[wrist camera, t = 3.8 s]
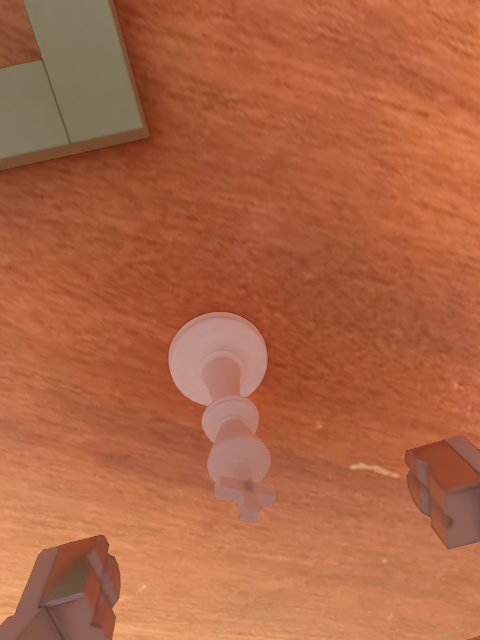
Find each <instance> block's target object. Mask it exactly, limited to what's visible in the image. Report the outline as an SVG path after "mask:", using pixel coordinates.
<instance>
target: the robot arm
mask: <svg viewBox="0 0 480 640" xmlns="http://www.w3.org/2000/svg"><path fill="white" fill-rule="evenodd" d="M405 463H406V464H407V466H408V467H409V468H410V471H409V473H408V474H407V483H408V488H409V491H410V494H411V497H412V499H413V500H414V502H415V504H416V506H417V507H418V509H419V510H420V512H421V513H423V514H425V515H427V516H429V517H431V527H432V528H433V530H434V531H435V533H436V534H437V535H438V537H439V538H440V539H441V541H442V542H443V544H444V545H445V546H446V548H447V549H452V548H456V547H460V546H464V545H468V544H472V543H476V542H480V450H478V449H477V448H476V447H475V446H474V445H473V444H472V443H471V442H470V441H468V440H467V439H466V438H465V437H464V436H461V435H458V436H455V437H451V438H448V439H444V440H442V441H438V442H434V443H431V444H427V445H424V446H420V447H417V448H413V449H410V450H406V453H405ZM108 548H109V544H108V542H107V540H106V538H105V536H104V535H98V536H94V537H90V538H86V539H82V540H78V541H74V542H70V543H66V544H63V545H60V546H56V547H52V548H48V549H44V550H43V551H42V552H41V553H40V554H39V555H38V557H37V560H36V562H35V565H34V567H33V570H32V572H31V575H30V577H29V579H28V582H27V584H26V587H25V589H24V592H23V594H22V597H21V599H20V602H19V604H18V607H17V609H16V612H15V614H14V615H13V616H10V617H7V619H6V620H5V621H4V622H3V623H2V624H1V625H0V640H112V637H113V631H114V625H115V619H116V616H115V614H114V612H113V610H112V608H113V606H114V605H115V603H116V602H117V600H118V599H119V594H120V587H121V584H120V571H119V567H118V563H117V561H116V559H115V557H114V556H112V555H110V554H108ZM468 640H480V636H477V637H474V638H471V639H468Z"/></svg>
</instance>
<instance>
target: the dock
mask: <svg viewBox="0 0 480 640" xmlns="http://www.w3.org/2000/svg"><path fill="white" fill-rule="evenodd" d="M23 3H24V6H25V9H26V12H27V15H28V18H29V21H30V24H31V27H32V30H33V33H34V36H35V38H36V41H37V44H38V47H39V50H40V53H41V56H42V59H43V60H37V61H32V62H28V63H23V64H18V65H13V66H8V67H4V68H0V171H1V170H5V169H10V168H14V167H19V166H23V165H28V164H32V163H37V162H41V161H46V160H50V159H55V158H59V157H64V156H68V155H73V154H77V153H82V152H86V151H89V150H95V149H100V148H104V147H109V146H113V145H118V144H122V143H127V142H131V141H136V140H140V139H144V138H149V137H150V134H149V130H148V127H147V123H146V119H145V116H144V112H143V108H142V104H141V101H140V97H139V93H138V90H137V86H136V82H135V78H134V75H133V71H132V67H131V64H130V60H129V56H128V52H127V49H126V45H125V41H124V38H123V34H122V30H121V26H120V23H119V19H118V15H117V12H116V8H115V4H114V1H113V0H23Z"/></svg>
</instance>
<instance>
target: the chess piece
mask: <svg viewBox="0 0 480 640" xmlns="http://www.w3.org/2000/svg"><path fill="white" fill-rule="evenodd" d="M168 363H169V369H170V372H171V376H172V379H173V381H174V383H175V385H176V386H177V388H178V389H179V390H180V391H181V393H183V394H184V395H185V396H186V397H187V398H189V399H190V400H192V401H194V402H196V403H199V404H202V405H206V406H208V407H207V408H206V409H205V411H204V413H203V416H202V428H203V431H204V433H205V434H206V436H207V437H208V438H209V440H210V441H212V442H213V443H214V444H213V446H212V448H211V450H210V453H209V456H208V461H207V469H208V473H209V475H210V477H211V479H212V480H213V481H214V482H215V483H216V484H215V487H214V490H215V499H219V500H225V501H231V502H237V508H238V514H239V520H240V521H247V522H253V523H255V521H256V519H257V517H258V514H259V512H260V507H259V506H261V507H267V508H272V506H273V504H274V501H275V499H276V497H277V496H276V492H275V489H274V486H273V485H269V484H263V483H259V482H260V481H261V480H262V479H263V478H264V477H265V476H266V474H267V473H268V471H269V468H270V463H271V457H270V453H269V450H268V448H267V447H266V445H265V444H264V443H263V441H262V440H261V439H260V438H259V437H258V436H256V435H255V433H256V431H257V428H258V423H259V413H258V410H257V408H256V406H255V405H254V404H253V403H252V402H251V401H250V400H249V399H247V398H246V397H248V396H249V395H250V394H251V393H253V392H254V391H255V389H256V388H257V387H258V386H259V384H260V383H261V381H262V379H263V377H264V375H265V372H266V368H267V351H266V345H265V342H264V339H263V337H262V335H261V333H260V332H259V330H258V329H257V328H256V327H255V326H254V325H253V324H252V323H251V322H250V321H248V320H247V319H245V318H243V317H241V316H239V315H236V314H233V313H228V312H211V313H206V314H203V315H200V316H198V317H195V318H194V319H192V320H190V321H189V322H187V323H186V324H185V325H184V326H183V327H182V328H181V329H180V330H179V331H178V332H177V334H176V335H175V337H174V339H173V341H172V343H171V346H170V349H169V355H168Z"/></svg>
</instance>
